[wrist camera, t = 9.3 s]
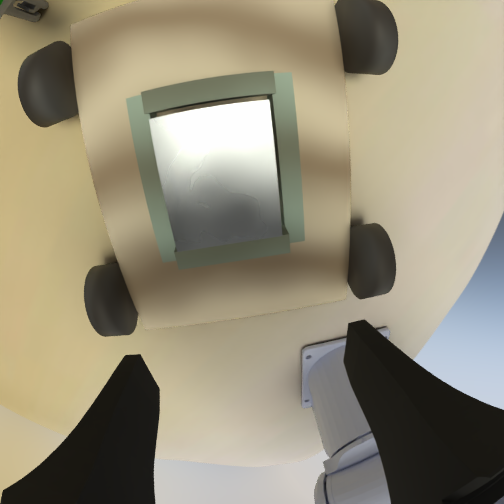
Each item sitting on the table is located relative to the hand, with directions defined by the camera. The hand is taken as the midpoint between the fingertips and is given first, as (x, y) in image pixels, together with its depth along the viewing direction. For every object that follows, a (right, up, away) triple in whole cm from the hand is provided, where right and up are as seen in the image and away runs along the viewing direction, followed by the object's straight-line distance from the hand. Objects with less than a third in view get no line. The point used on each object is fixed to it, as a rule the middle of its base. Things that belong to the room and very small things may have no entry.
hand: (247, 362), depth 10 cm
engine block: (-2, +9, +5) cm, 10 cm away
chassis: (-2, +9, +6) cm, 11 cm away
